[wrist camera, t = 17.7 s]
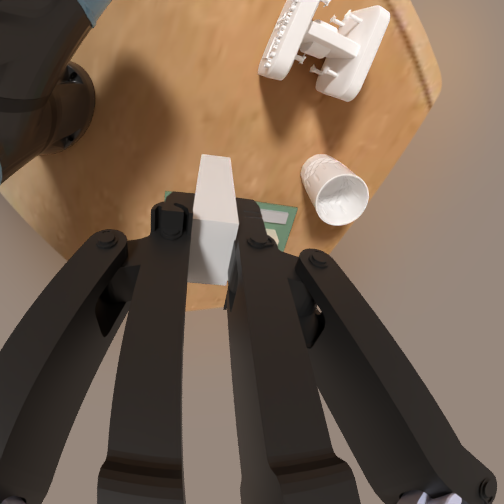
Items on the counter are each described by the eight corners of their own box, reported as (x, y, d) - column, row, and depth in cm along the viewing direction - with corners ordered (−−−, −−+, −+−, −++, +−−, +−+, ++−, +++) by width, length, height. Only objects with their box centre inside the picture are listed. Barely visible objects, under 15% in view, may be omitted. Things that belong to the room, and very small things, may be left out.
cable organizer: (318, 98, 35) (352, 111, 26) (251, 72, 32) (264, 74, 23) (352, 19, 27) (395, 10, 18) (287, -12, 24) (312, -36, 15)
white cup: (317, 140, 39) (342, 162, 32) (350, 167, 43) (378, 194, 35) (287, 178, 43) (303, 208, 35) (321, 201, 46) (343, 234, 39)
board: (163, 267, 51) (161, 277, 49) (165, 191, 42) (162, 199, 40) (273, 276, 56) (276, 286, 54) (297, 207, 47) (301, 215, 44)
